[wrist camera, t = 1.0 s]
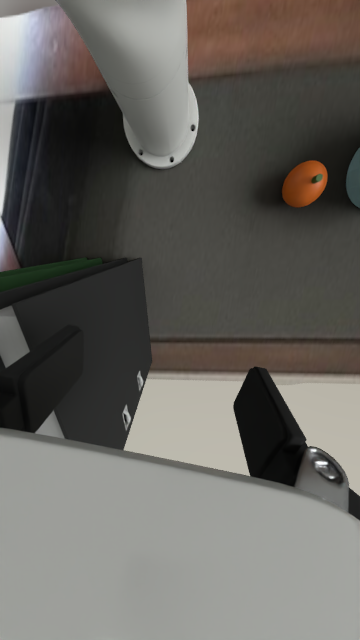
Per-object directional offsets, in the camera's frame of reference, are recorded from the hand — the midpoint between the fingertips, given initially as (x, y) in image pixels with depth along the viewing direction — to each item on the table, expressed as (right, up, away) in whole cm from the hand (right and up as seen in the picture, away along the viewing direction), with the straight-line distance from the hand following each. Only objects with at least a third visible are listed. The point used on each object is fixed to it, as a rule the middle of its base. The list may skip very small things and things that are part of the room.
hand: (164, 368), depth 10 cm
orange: (+22, +27, +24) cm, 42 cm away
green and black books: (-14, +4, +36) cm, 39 cm away
